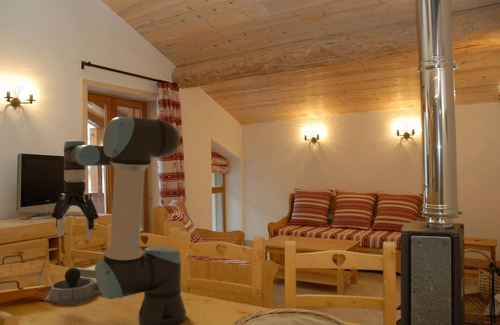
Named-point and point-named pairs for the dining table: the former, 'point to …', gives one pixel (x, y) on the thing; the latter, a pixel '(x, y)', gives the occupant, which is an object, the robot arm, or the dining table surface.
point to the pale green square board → (87, 272)
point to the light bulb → (72, 277)
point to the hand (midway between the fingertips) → (74, 237)
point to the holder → (71, 292)
